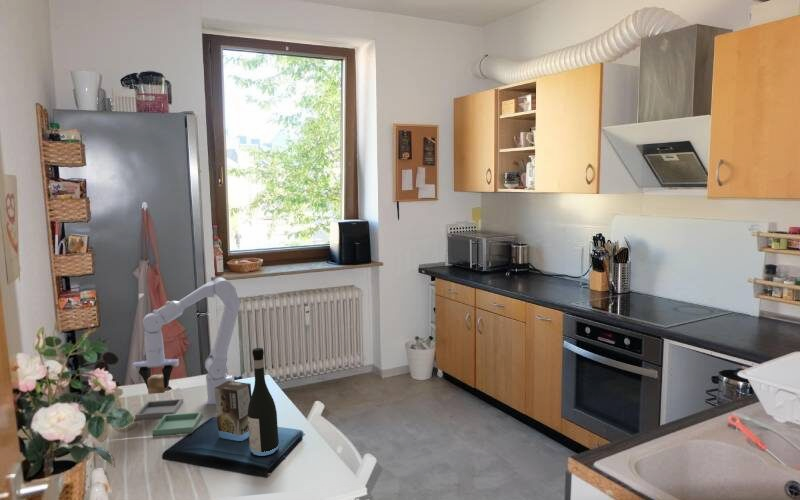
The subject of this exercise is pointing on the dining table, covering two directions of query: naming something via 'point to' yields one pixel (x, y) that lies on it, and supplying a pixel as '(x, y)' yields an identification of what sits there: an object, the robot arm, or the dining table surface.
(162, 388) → the brown cardboard box
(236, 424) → the coffee box
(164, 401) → the charcoal tray
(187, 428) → the green tray
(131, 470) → the dining table surface
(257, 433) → the wine bottle
